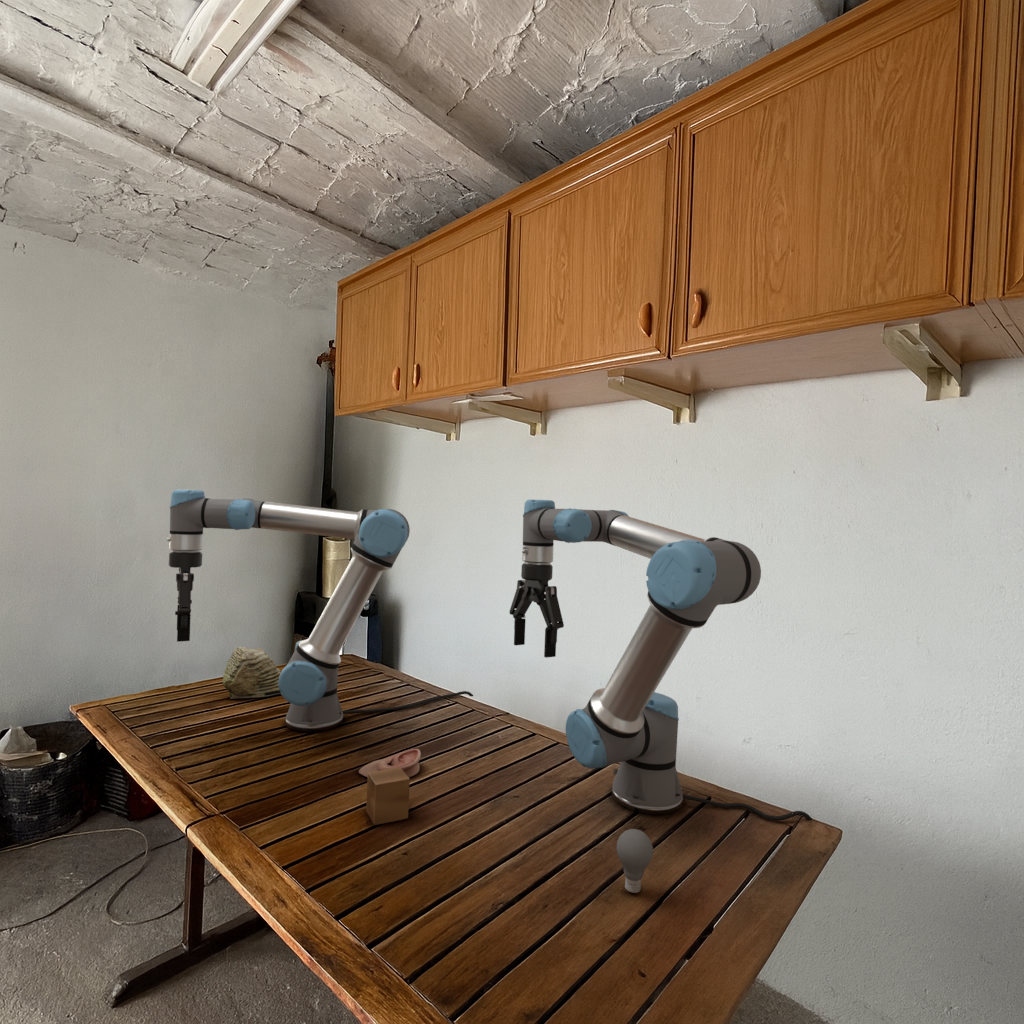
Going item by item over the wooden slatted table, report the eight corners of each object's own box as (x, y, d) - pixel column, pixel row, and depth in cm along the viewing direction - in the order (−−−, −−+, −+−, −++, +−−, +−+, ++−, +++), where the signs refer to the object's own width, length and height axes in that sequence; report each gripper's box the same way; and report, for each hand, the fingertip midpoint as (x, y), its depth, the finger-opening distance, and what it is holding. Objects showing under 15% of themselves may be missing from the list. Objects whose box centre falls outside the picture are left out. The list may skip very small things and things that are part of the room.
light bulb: (610, 879, 108) (613, 822, 108) (644, 879, 109) (647, 822, 109) (619, 902, 102) (622, 840, 102) (655, 901, 103) (658, 840, 103)
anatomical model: (353, 759, 143) (374, 741, 154) (352, 777, 143) (373, 757, 154) (408, 767, 140) (426, 748, 152) (408, 785, 140) (425, 764, 152)
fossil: (218, 695, 195) (220, 647, 195) (278, 685, 208) (279, 640, 207) (228, 703, 189) (230, 653, 188) (289, 692, 201) (290, 645, 201)
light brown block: (366, 811, 128) (367, 772, 128) (398, 805, 132) (400, 766, 132) (374, 825, 123) (376, 784, 123) (408, 818, 126) (409, 778, 126)
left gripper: (169, 546, 168) (166, 626, 169) (168, 555, 146) (165, 647, 147) (200, 546, 172) (197, 624, 172) (204, 555, 150) (201, 645, 150)
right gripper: (498, 558, 162) (495, 641, 162) (554, 568, 141) (550, 663, 141) (523, 558, 166) (520, 639, 166) (581, 568, 145) (577, 660, 145)
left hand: (182, 635), depth 159 cm, fingers open, 13 cm apart
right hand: (533, 650), depth 154 cm, fingers open, 13 cm apart
